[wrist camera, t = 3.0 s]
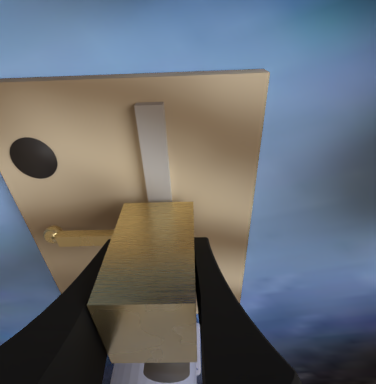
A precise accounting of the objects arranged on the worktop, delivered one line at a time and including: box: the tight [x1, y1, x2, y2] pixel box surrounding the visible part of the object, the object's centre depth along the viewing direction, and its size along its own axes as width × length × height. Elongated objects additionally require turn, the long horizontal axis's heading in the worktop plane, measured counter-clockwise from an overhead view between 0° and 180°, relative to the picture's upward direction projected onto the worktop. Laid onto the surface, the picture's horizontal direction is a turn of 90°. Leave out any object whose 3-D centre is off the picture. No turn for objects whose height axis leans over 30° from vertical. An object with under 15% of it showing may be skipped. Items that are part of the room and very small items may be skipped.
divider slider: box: [43, 201, 197, 363], centre depth 12 cm, size 4×8×6 cm, turn 92°
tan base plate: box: [0, 69, 270, 383], centre depth 14 cm, size 17×13×6 cm
